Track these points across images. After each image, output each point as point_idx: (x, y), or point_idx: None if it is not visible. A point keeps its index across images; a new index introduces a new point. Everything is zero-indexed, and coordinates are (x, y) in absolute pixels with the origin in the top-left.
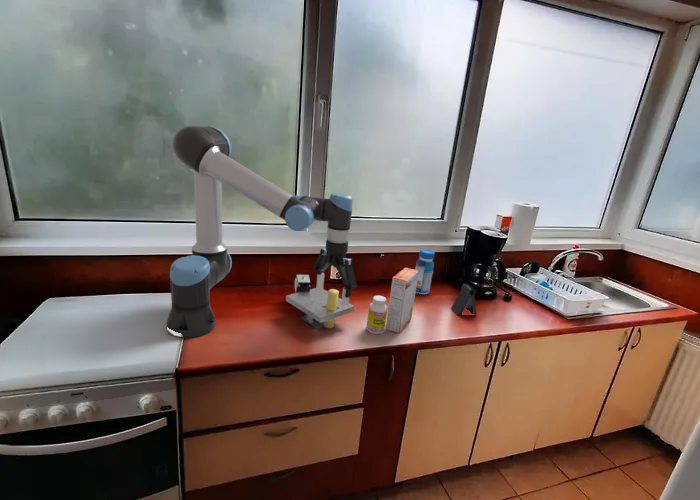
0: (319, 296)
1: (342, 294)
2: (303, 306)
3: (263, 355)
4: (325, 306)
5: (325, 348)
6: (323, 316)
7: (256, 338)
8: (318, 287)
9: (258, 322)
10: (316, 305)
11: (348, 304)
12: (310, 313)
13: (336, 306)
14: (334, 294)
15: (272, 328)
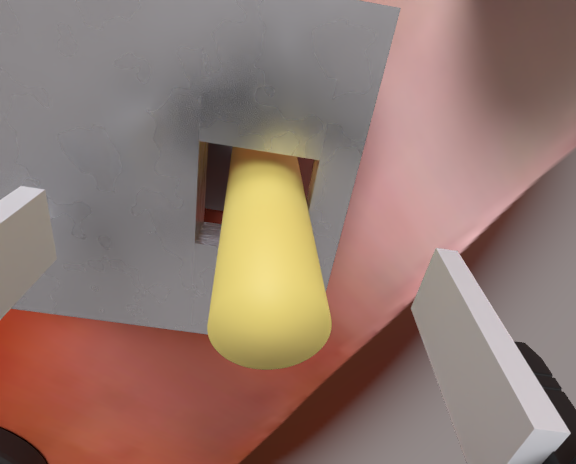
0: (24, 116)
1: (447, 406)
2: (129, 322)
3: (250, 429)
4: (199, 197)
5: (381, 294)
6: None
7: (148, 395)
8: (27, 278)
9: (37, 334)
10: (164, 258)
11: (328, 28)
12: None
13: (308, 213)
14: (315, 353)
15: (113, 329)
